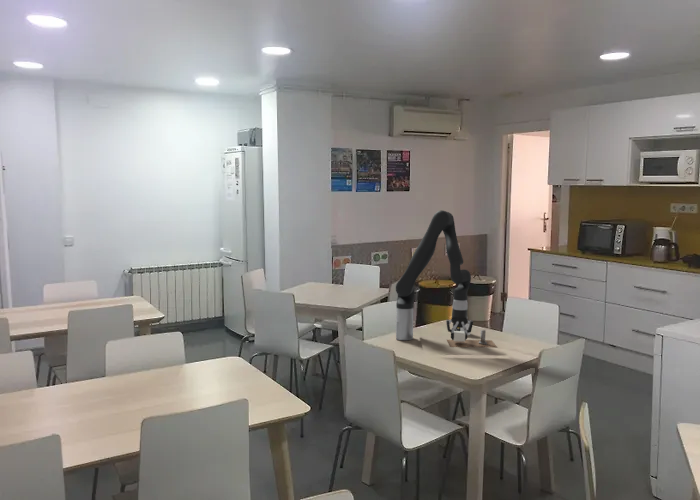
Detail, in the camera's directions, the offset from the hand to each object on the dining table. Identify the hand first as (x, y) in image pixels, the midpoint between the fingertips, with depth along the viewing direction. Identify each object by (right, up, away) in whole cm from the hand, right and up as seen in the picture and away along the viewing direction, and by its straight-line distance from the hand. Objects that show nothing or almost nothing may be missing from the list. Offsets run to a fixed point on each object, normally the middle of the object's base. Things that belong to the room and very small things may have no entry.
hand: (458, 339), depth 291 cm
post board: (+7, -4, 0) cm, 7 cm away
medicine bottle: (+5, -2, +20) cm, 21 cm away
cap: (0, 0, 0) cm, 0 cm away
